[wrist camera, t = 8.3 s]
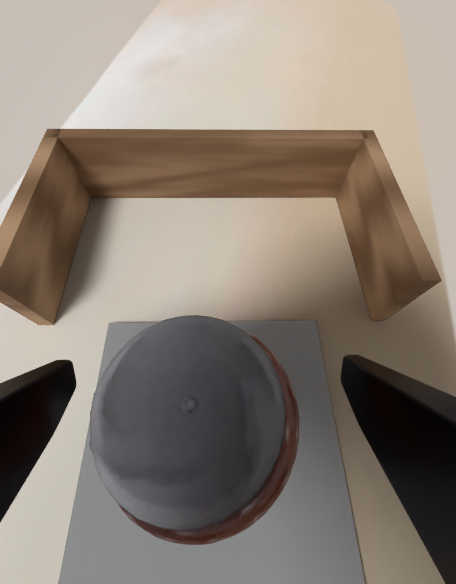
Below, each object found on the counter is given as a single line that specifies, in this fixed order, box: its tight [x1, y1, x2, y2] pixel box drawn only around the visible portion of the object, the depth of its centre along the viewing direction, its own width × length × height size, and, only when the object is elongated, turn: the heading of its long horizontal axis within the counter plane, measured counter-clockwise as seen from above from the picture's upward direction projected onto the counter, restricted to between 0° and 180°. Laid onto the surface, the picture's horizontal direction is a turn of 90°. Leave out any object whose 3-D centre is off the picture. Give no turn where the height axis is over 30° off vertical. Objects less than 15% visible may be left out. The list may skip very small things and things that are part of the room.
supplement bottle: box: [89, 315, 300, 545], centre depth 10 cm, size 6×6×11 cm
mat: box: [58, 320, 365, 584], centre depth 15 cm, size 14×14×1 cm
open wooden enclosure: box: [0, 129, 441, 325], centre depth 19 cm, size 13×24×6 cm, turn 91°
